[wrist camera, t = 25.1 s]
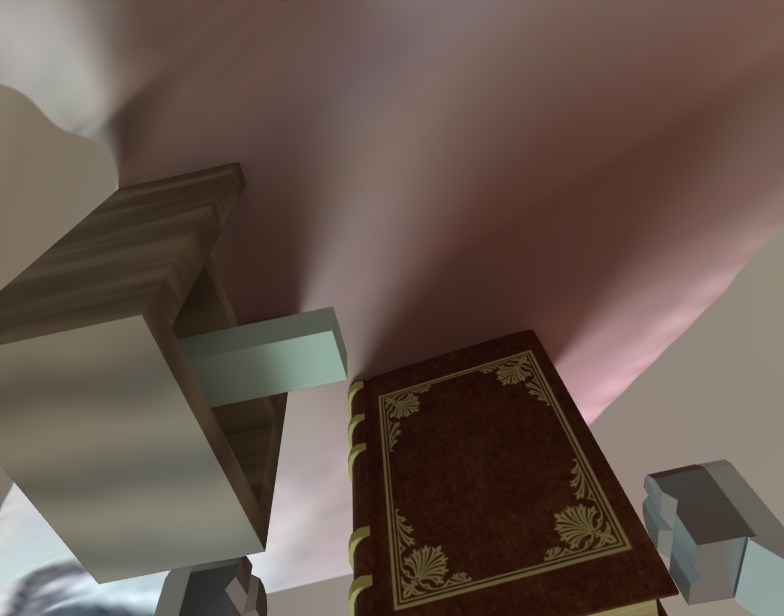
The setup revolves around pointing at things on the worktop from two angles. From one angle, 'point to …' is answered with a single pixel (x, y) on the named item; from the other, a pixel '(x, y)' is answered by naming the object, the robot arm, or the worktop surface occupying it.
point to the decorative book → (489, 496)
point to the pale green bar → (268, 357)
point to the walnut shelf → (134, 388)
